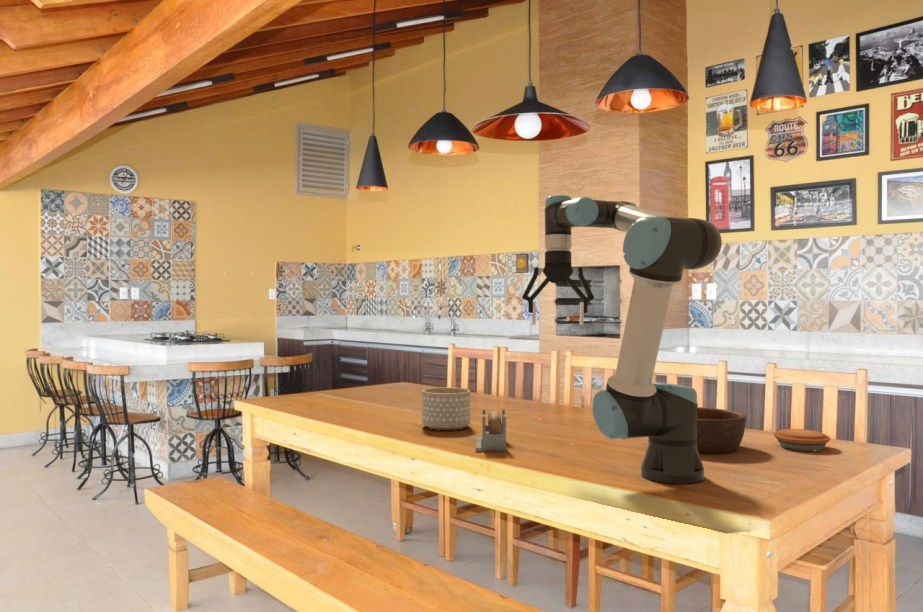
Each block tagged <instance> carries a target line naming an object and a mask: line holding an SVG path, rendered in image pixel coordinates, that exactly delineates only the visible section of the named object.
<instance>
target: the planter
mask: <svg viewBox="0 0 923 612" xmlns="http://www.w3.org/2000/svg"><path fill="white" fill-rule="evenodd" d="M421 393H422V395H421V397H422V398H421V399H422V407H421V408H422V409H421V410H422V411H421V414H422V415H421V416H422V426H425V427H426V428H427V427H428V428H429V430H432V429H434V430H433V431H440V430H453V431H459V430H458V429H461V430H464V429H465V428H466V427H467V426H469V425H471V390H470V389H468V388H462V387H431V388H425V389H424V388H423V389H422V392H421ZM428 428H427V429H428ZM463 428H464V429H463Z"/></svg>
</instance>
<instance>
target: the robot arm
mask: <svg viewBox="0 0 923 612" xmlns="http://www.w3.org/2000/svg"><path fill="white" fill-rule="evenodd" d="M544 202H545V204H544V249H545V252H544V267H538V266H535V267H534V268H533V274H532V277H531V278H530V281H529V283H528V284H527V287H526V288H525V290H524V292H523V294H522V296H521V298H522V300H524V301H527V303H528V304H527V305H528V313H529V314H531V316H532V317H531V319H532V320H531V325H532V326H536V324H537V323H536V312H537V311H536V306H537V305H536V301H534V300H535V299H536V298H537V296H538V295H539V294H540V293H541V292H542V291H543V290H544V288H545V287H546V286H547V285H549V282H550V283H552V284H556V283H558V284H564V283H567V284H568V286H570V288H571V289H572V290H573V291H574V292H575V294H576V295H577V296H578V298H579V299H580V300H581V301H579V325H580V326H584V325H585V323H584V322H585V321H584V319H585V318H584V317H585V316H584V315H585V314H587V313H588V303H589V302H590V301H592V300H594V299H595V296H594V294H593V292H592V290H591V288H590V285H589V284H588V281H587V279H586V278H585V276H584V272H583V271H584V270H583V267H581V266H579V267H575V268H573V267H572V252H571V249H572V228H578V227H579V228H601V229H602V228H604V229H614V230H617V231H619V232H623V233H626V234H625V235H624V236H625V237H624V239H623V244H622V253H623V254H624V255H623V258H624V262H625V263H626V265H628V267H629V270H628V273H629V274H630V275H631V277H632V278H633V285H632V290H631V295H630V300H629V303H628V304H629V305H628V309H627V315H626V318H625V319H626V320H625V324H624V331H623V334H622V335H623V336H622V338H621V339H622V340H621V345H620V349H619V353H618V361H617V364H616V369H615V373H614V374H612V375H611V376H609V377H608V378H607V381H606V386H605V390H604V389H601V390H599V391H597V393H595V394H594V397H593V400H592V415H593V419H594V421H595V424H596V426H597V429H598V431H600V433H601V434H602V435H603V436H604V437H606V438H607V439H611V440H626V439H635V438H636V439H637V438H638V439H639V438H647V437H648V439H647V440H648V443H647V444H648V445H647V446H646V447H647V448H646V450H645V453H644V456H643V459H642V462H641V466H640V474H641V476H642V477H643V478H645V479H648V480H650V481H654V482H660V483H665V484H694V483H699V482H702V481H704V480H705V469H704V464H703V462H702V459H701V455H700V453H699V452H698V449H697V407H698V406H699V403H698V393H697V391H696V389H695V388H694V387H691V386H686V385H681V384H673V383H668V382H667V383H666V382H661V381H659V382H657V381H653V377H654V373H655V369H656V363H657V358H658V355H659V349H660V345H661V340H662V335H663V331H664V326H665V323H666V317H667V313H668V308H669V303H670V300H671V297H672V296H671V295H672V290H673V287H674V286H675V285H678V283H679V284H680V283H681V281H682V277H683V272H684V270H699V269H702V268H705V267H707V266H708V265H710V264H712V263H713V262H714V261H715V260H716V259H717V258H718V257H719V254H720V252H721V250H722V249H721V248H722V247H723V246H722V242H723V241H722V235H721V232H720V231H719V229H718V228H717V227H716V226H715V224H713V223H712V222H710V221H708V220H705V219H702V218H693V217H675V216H671V215H667V214H665V213H661V212H657V211H654V210H650V209H646V208H643V207H639V206H637V204H636V203H634V202H631V201H625V200H621V201H620V200H619V201H617V200H602V199H601V200H600V199H592V198H591V197H588V196H584V197H583V196H582V197H580V196H579V197H576V198H573V199H572V197H571V196H569V195H565V194H555V195H549V196H547V197H546V198H545V201H544ZM542 273H543V275H544V276H545V277H546V278H545V279H544V280H543V281H542V282H541V284H540V285H539V286H538V287H537V288H536V289H535V290H534V292H533V293H532V294H531V295H530V292H531V290H532V289H533V286H534V285H535V283H536V281H537V279H538V276H541V274H542ZM573 273H574V274H575V276H577V277H578V280H579V281H580V284H581V285H582V287H583V289H584V291H585V293H586V295H587V296H586V295H585V294H584V293H583V292H582V290H581V289H580V288H579V287H578V285H577V284H576V283H575V282H574V280H573V279H572V278H571V275H572V274H573ZM529 295H530V296H529Z"/></svg>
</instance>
